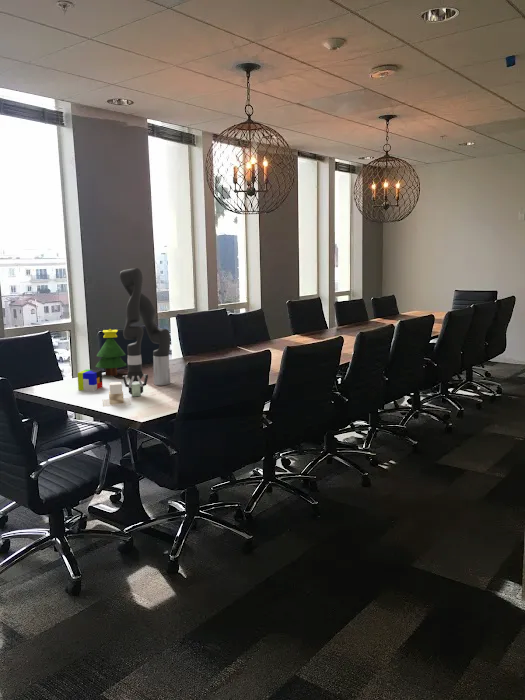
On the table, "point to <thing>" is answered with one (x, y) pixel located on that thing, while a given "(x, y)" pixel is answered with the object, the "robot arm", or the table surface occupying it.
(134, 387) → the pale green block
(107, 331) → the decorative tree
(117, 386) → the tower mid
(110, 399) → the tower base
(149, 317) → the robot arm
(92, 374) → the puzzle toy
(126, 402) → the felt mat
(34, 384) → the table surface
